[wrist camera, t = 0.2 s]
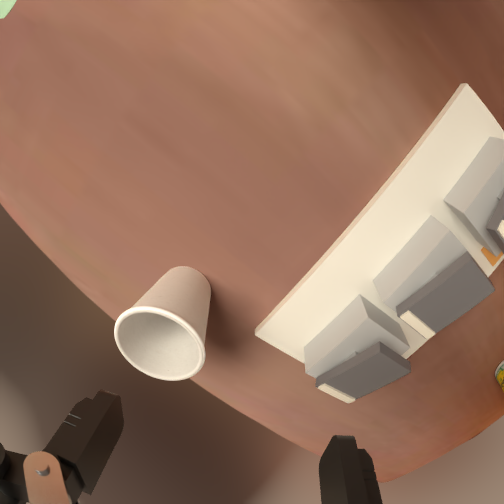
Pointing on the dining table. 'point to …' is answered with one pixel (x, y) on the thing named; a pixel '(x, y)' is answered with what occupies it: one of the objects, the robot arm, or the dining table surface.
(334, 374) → the rocker
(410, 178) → the switch unit
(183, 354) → the dixie cup
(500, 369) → the supplement bottle
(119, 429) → the robot arm
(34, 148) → the dining table surface
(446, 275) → the rocker
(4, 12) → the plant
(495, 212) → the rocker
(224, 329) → the dining table surface
